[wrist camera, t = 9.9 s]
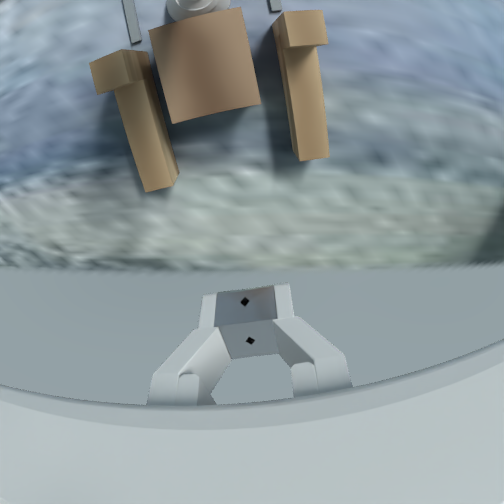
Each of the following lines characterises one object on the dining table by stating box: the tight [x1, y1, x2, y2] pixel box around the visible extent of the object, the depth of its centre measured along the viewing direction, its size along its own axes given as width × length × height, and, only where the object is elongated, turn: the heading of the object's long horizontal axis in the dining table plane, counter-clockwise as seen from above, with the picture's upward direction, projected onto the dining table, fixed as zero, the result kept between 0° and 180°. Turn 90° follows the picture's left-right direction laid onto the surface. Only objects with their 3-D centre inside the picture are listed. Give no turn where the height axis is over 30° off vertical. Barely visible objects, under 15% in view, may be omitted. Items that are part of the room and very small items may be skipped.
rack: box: [89, 10, 330, 192], centre depth 19 cm, size 15×11×6 cm
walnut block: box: [148, 7, 261, 124], centre depth 18 cm, size 6×7×5 cm
